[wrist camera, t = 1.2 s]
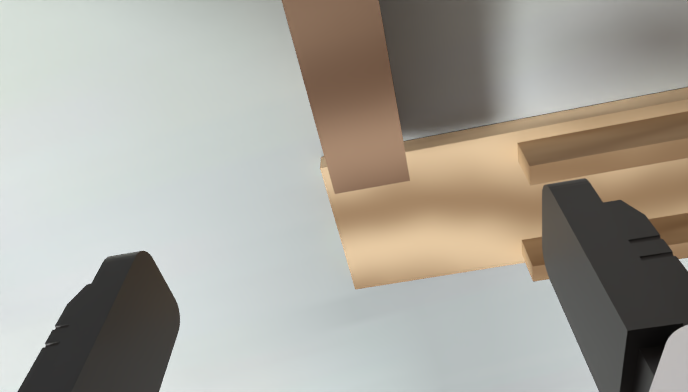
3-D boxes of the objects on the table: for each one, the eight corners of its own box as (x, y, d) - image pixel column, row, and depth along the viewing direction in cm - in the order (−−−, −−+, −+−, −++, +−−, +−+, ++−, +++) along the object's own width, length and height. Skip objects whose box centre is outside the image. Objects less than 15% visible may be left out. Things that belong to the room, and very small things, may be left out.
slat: (276, -103, 20) (259, -81, 16) (356, -122, 20) (360, -106, 16) (336, 133, 26) (334, 193, 21) (399, 121, 25) (410, 180, 21)
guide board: (321, 157, 26) (317, 213, 22) (817, 62, 23) (906, 109, 20) (355, 276, 31) (356, 339, 27) (775, 208, 28) (841, 268, 24)
